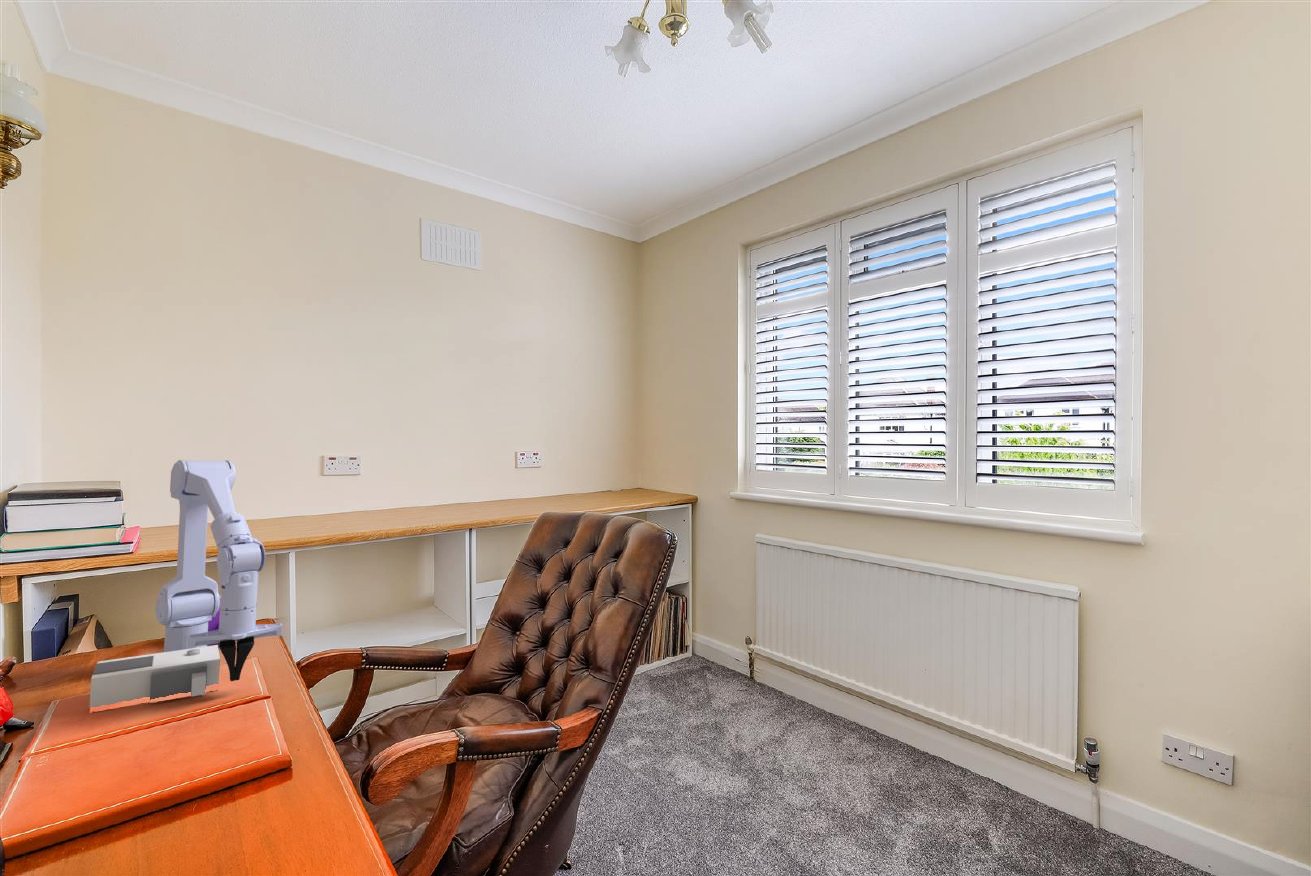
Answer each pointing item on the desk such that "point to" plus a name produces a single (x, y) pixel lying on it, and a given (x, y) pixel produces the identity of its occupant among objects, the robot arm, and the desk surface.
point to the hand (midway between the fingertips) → (234, 678)
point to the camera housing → (146, 673)
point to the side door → (179, 681)
